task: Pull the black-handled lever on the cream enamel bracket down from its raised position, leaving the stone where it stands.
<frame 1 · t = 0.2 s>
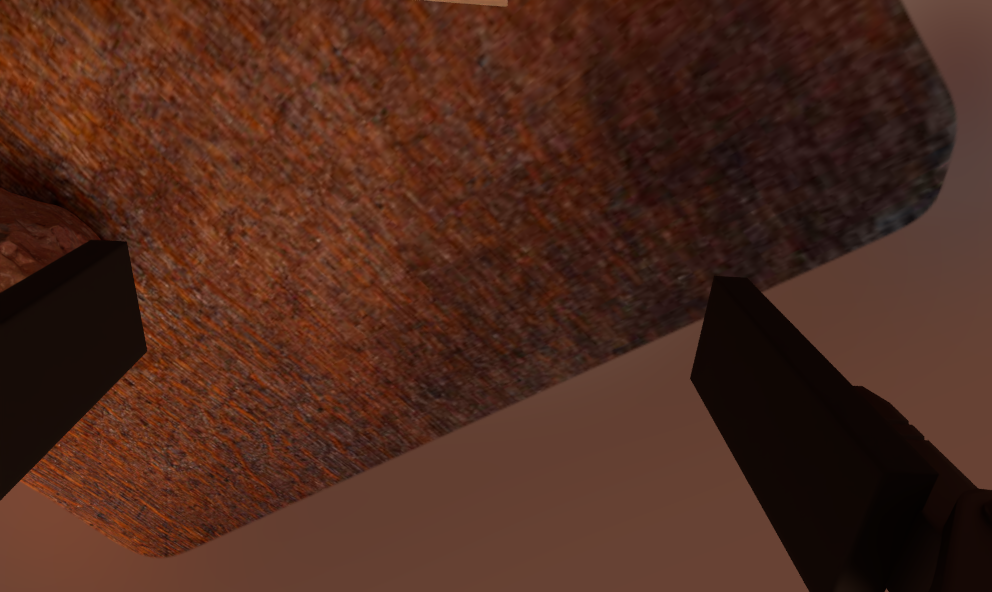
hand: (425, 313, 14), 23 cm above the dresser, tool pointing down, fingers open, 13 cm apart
stone: (27, 211, 37), on the dresser
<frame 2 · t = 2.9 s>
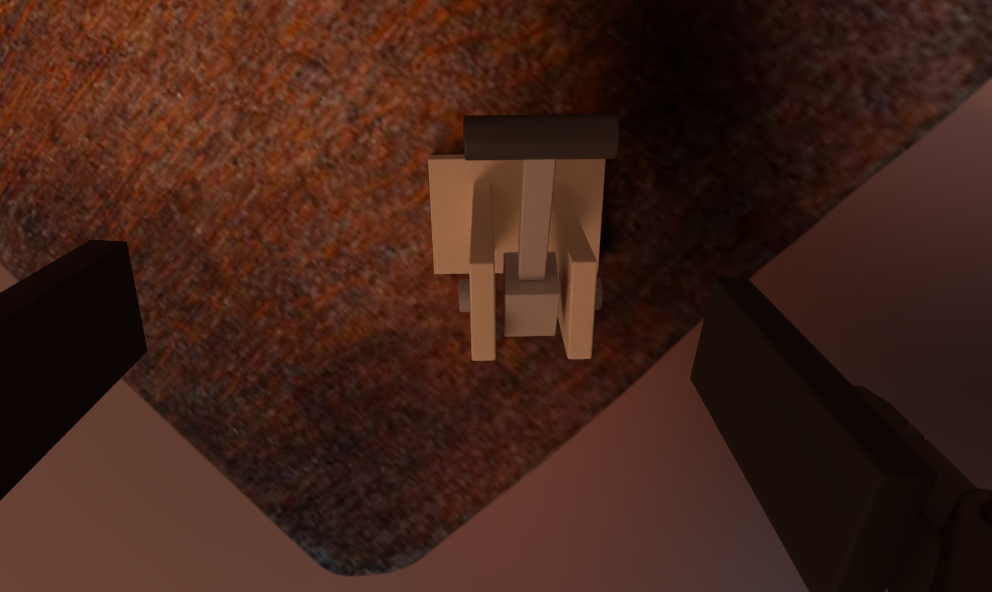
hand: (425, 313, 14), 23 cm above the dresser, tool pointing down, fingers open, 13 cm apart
lever: (533, 232, 24), point 14 cm above the dresser, hinge at 25.0°
bracket: (515, 211, 38), on the dresser
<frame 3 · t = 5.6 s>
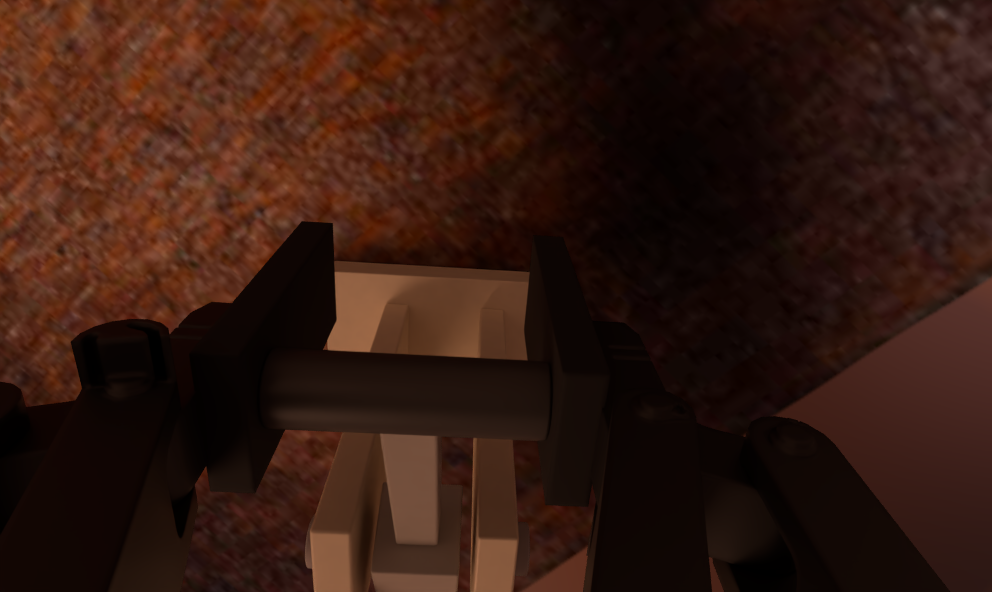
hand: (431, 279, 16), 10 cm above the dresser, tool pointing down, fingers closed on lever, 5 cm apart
lever: (416, 491, 15), point 14 cm above the dresser, hinge at 25.0°, touching gripper
bracket: (444, 338, 28), on the dresser
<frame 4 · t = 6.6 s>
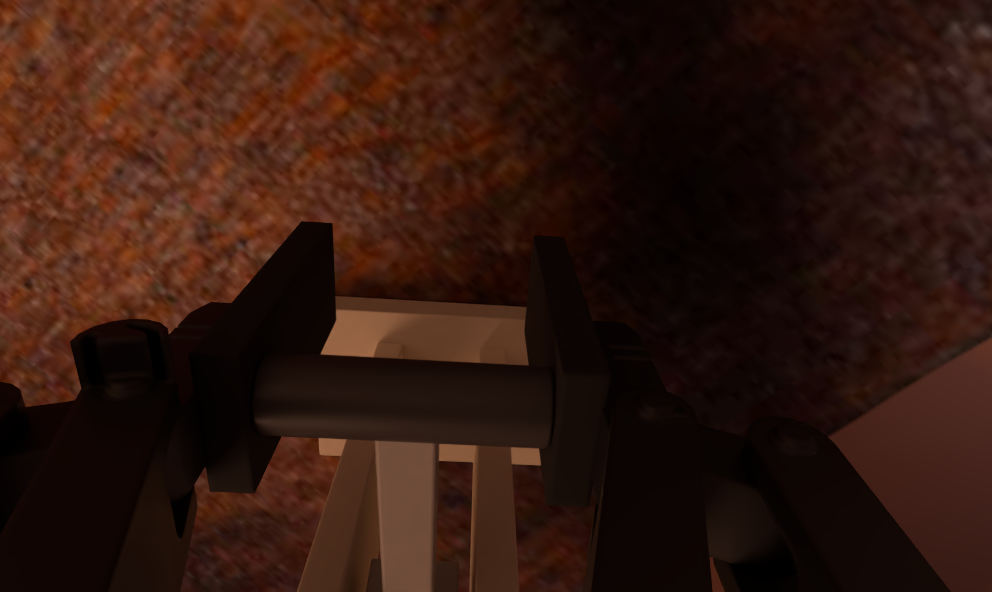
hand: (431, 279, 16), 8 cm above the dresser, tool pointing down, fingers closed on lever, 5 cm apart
lever: (409, 548, 13), point 13 cm above the dresser, hinge at 9.3°, touching gripper
bracket: (441, 376, 26), on the dresser
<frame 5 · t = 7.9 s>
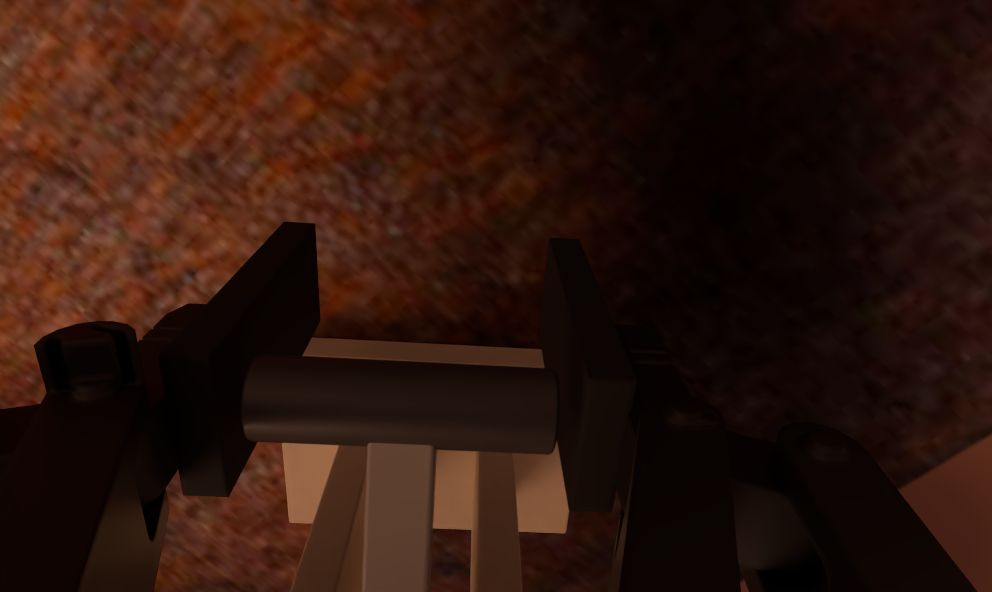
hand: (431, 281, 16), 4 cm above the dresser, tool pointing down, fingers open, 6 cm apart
bracket: (433, 429, 22), on the dresser
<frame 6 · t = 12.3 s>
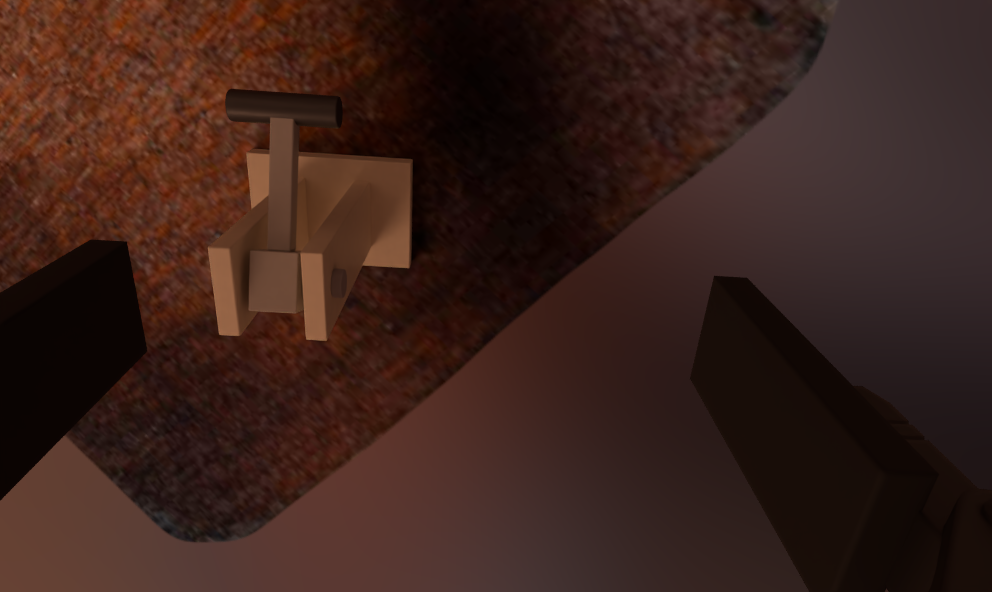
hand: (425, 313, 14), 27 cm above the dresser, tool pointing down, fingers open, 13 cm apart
lever: (283, 202, 29), point 11 cm above the dresser, hinge at -19.0°
bracket: (335, 207, 41), on the dresser
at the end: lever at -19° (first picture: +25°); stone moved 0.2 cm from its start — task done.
